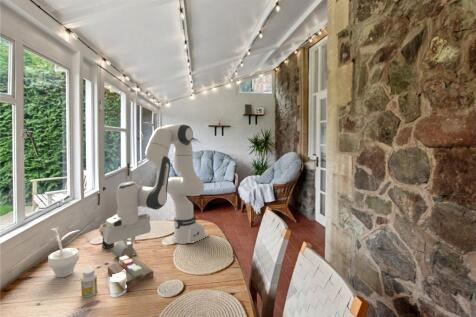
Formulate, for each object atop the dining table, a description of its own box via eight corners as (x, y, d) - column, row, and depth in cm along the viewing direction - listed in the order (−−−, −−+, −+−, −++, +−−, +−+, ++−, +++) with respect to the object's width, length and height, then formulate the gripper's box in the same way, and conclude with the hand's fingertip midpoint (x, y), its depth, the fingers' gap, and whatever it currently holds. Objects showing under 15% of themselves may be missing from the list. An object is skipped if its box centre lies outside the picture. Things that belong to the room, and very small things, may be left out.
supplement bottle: (90, 288, 105) (90, 266, 104) (100, 291, 103) (99, 268, 102) (78, 295, 100) (77, 272, 99) (87, 299, 98) (86, 275, 97)
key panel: (135, 262, 127) (135, 256, 126) (153, 277, 114) (153, 271, 113) (107, 272, 117) (107, 266, 117) (124, 289, 104) (124, 282, 104)
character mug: (95, 248, 142) (94, 226, 141) (104, 243, 149) (103, 221, 148) (112, 250, 140) (111, 227, 139) (120, 245, 147) (120, 223, 146)
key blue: (134, 270, 116) (134, 263, 116) (137, 272, 114) (137, 266, 114) (126, 272, 114) (126, 266, 113) (130, 275, 111) (129, 268, 111)
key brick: (130, 264, 119) (130, 258, 119) (133, 267, 117) (133, 260, 117) (122, 267, 117) (122, 260, 117) (125, 270, 114) (125, 263, 114)
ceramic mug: (122, 262, 127) (122, 247, 126) (112, 258, 131) (112, 244, 130) (140, 254, 136) (140, 240, 136) (130, 250, 140) (130, 237, 140)
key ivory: (126, 261, 122) (126, 255, 122) (129, 264, 120) (129, 257, 120) (119, 264, 120) (118, 257, 120) (121, 266, 118) (121, 260, 117)
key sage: (138, 272, 113) (138, 265, 113) (142, 275, 111) (141, 268, 110) (131, 275, 111) (130, 268, 110) (134, 278, 108) (134, 270, 108)
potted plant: (46, 284, 108) (43, 227, 106) (51, 271, 118) (48, 219, 116) (81, 276, 113) (78, 222, 111) (83, 265, 124) (81, 215, 122)
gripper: (146, 211, 124) (147, 238, 125) (101, 221, 109) (103, 252, 111) (152, 214, 120) (153, 242, 121) (107, 225, 105) (108, 256, 106)
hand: (129, 246), depth 116 cm, fingers closed
